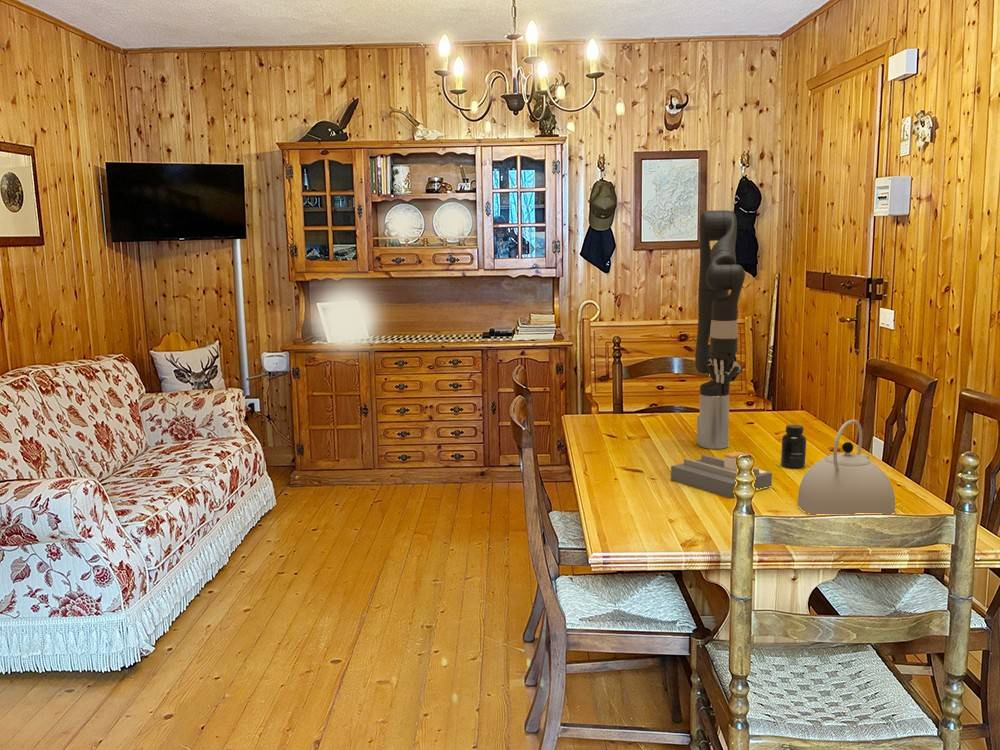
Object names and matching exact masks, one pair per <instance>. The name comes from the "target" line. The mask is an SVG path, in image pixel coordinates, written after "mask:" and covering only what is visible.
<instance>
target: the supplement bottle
mask: <svg viewBox="0 0 1000 750" xmlns="http://www.w3.org/2000/svg"><path fill="white" fill-rule="evenodd" d="M806 455H807V438H806V436H805V435H804V426H802V425H799V424H787V425H786V426H785V434H783V435H782V437H781V455H780V456H781V457H780V463H781V464H780V465H781V466H782V467H784V468H787V467H788V468H789V469H803V468H804V467H805V466H806ZM802 467H803V468H802ZM788 468H787V469H788Z"/></svg>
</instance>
